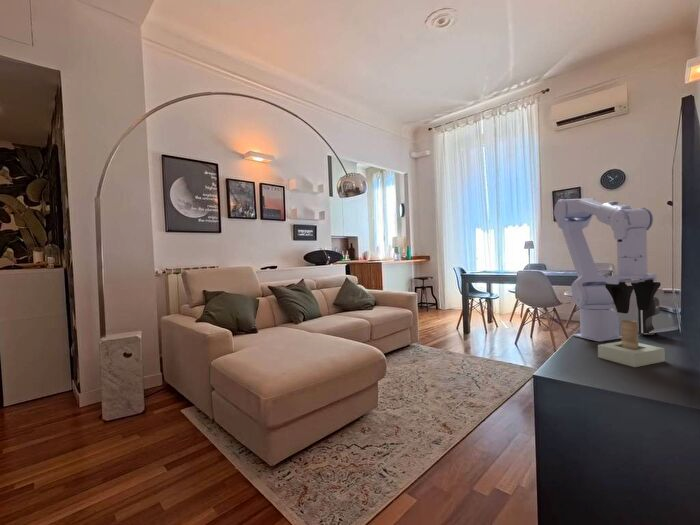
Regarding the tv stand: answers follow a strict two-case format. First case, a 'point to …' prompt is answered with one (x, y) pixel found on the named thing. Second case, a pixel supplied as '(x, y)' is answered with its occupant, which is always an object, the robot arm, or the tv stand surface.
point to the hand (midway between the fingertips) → (633, 311)
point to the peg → (629, 334)
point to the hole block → (631, 354)
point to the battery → (648, 317)
